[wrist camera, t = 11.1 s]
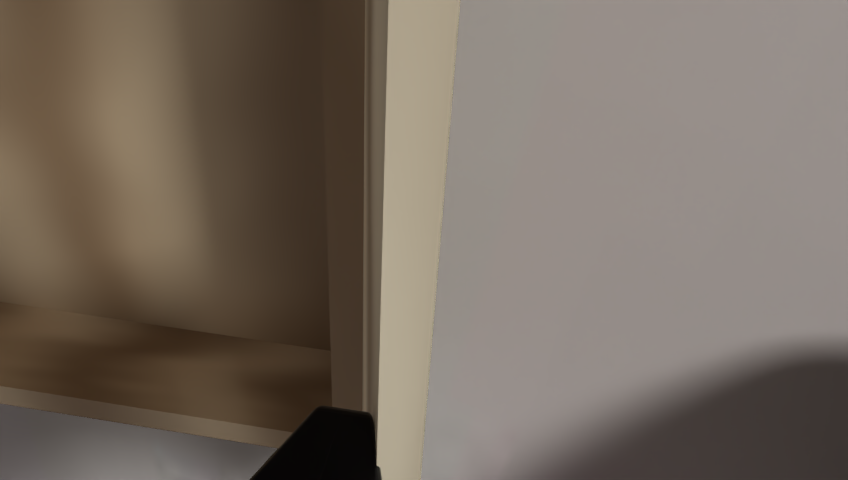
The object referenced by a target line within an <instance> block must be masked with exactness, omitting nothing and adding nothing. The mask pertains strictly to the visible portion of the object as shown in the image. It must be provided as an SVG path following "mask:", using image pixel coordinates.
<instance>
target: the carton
mask: <svg viewBox="0 0 848 480" xmlns="http://www.w3.org/2000/svg"><path fill="white" fill-rule="evenodd" d="M364 95H365V0H0V404H6V405H12V406H19V407H25V408H31V409H37V410H43V411H50V412H56V413H62V414H68V415H75V416H81V417H87V418H93V419H99V420H106V421H112V422H118V423H124V424H130V425H137V426H143V427H149V428H155V429H161V430H168V431H174V432H180V433H186V434H192V435H199V436H205V437H211V438H217V439H223V440H230V441H236V442H242V443H248V444H254V445H261V446H267V447H273V448H279V447H280V446H281V445H282V444H283V443H284V442H285V440H286V439H287V438H288V437H289V436H290V435H291V434H292V433H293V432H294V431H295V430H296V428H297V427H298V426H299V425H300V424H301V423H302V422H303V421H304V420H305V419H306V418H307V416H308V415H309V414H310V413H311V412H312V411H313V410H314V409H315V408H316V407H318V406H323V405H324V406H331V407H338V408H344V409H351V410H358V411H362V384H363V239H364Z"/></svg>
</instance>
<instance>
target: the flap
mask: <svg viewBox="0 0 848 480" xmlns="http://www.w3.org/2000/svg"><path fill="white" fill-rule="evenodd" d="M459 11H460V0H365V95H364V239H363V384H362V411H365V412H369V413H370V414H371V415H372V417H373V422H374V428H375V442H376V462H377V466H379V467H380V469H381V476H382V480H421V468H422V456H423V444H424V432H425V420H426V408H427V396H428V384H429V372H430V360H431V348H432V336H433V324H434V312H435V300H436V288H437V276H438V264H439V251H440V239H441V227H442V215H443V203H444V191H445V179H446V167H447V155H448V143H449V131H450V119H451V107H452V95H453V83H454V71H455V59H456V47H457V35H458V23H459Z"/></svg>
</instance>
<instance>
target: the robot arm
mask: <svg viewBox="0 0 848 480" xmlns="http://www.w3.org/2000/svg"><path fill="white" fill-rule="evenodd" d="M250 480H382V476H381V469H380V467H379V466H377V462H376V442H375V428H374V422H373V417H372V415H371V414H370V413H369V412H365V411H358V410H351V409H344V408H338V407H331V406H324V405H323V406H318V407H316V408H315V409H314V410H313V411H312V412H311V413H310V414H309V415H308V416H307V418H306V419H305V420H304V421H303V422H302V423H301V424H300V425H299V426H298V427H297V428H296V430H295V431H294V432H293V433H292V434H291V435H290V436H289V437H288V438H287V439H286V440H285V442H284V443H283V444H282V445H281V446H280V447H279V448H278V449H277V450H276V451H275V452H274V454H273V455H272V456H271V457H270V458H269V459H268V460H267V461H266V462H265V463H264V464H263V466H262V467H261V468H260V469H259V470H258V471H257V472H256V473H255V474H254V475H253V476H252V478H251V479H250Z"/></svg>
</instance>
